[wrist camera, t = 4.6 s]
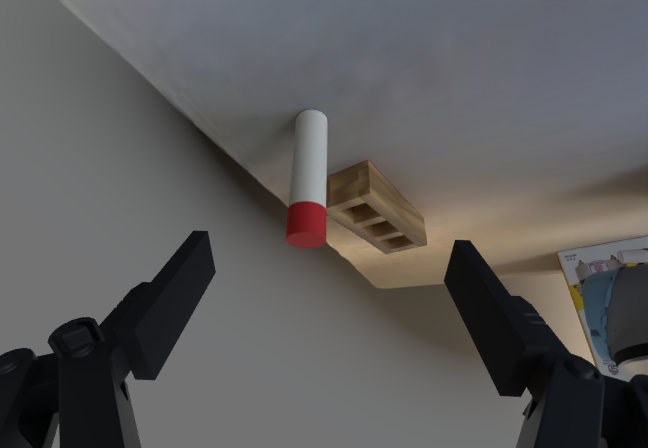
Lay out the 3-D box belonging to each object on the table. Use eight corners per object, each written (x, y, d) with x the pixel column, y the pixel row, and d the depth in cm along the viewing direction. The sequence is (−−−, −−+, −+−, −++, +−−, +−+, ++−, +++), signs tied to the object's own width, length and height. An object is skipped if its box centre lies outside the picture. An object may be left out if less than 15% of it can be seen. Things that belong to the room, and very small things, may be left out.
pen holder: (368, 159, 38) (370, 193, 36) (423, 218, 52) (427, 245, 50) (320, 179, 42) (319, 210, 40) (383, 229, 56) (385, 254, 54)
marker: (314, 103, 30) (308, 228, 24) (334, 124, 32) (333, 242, 26) (288, 118, 32) (277, 238, 26) (309, 137, 34) (303, 250, 28)
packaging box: (562, 270, 76) (601, 381, 65) (556, 252, 65) (601, 382, 53) (652, 257, 66) (715, 384, 55) (663, 233, 55) (745, 386, 44)
